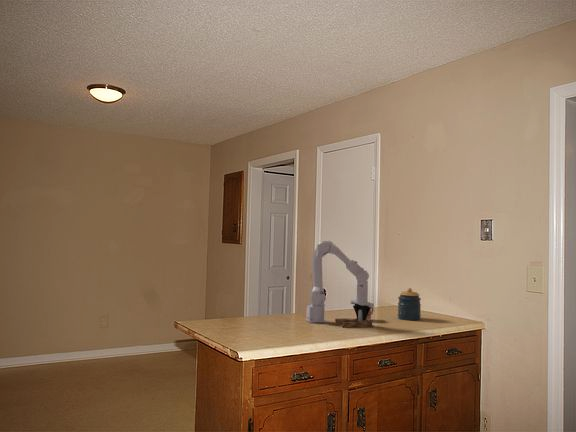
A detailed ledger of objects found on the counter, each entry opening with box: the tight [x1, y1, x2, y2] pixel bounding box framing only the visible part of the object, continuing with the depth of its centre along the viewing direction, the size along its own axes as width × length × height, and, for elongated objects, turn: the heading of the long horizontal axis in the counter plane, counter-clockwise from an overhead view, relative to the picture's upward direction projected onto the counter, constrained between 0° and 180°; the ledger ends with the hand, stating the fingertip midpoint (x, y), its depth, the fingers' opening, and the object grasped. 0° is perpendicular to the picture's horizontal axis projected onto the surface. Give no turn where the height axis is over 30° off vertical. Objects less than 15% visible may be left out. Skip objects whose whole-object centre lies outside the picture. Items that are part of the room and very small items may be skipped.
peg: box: [358, 309, 365, 322], centre depth 256 cm, size 3×3×7 cm
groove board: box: [334, 317, 373, 329], centre depth 256 cm, size 16×12×2 cm
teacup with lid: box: [354, 304, 375, 321], centre depth 274 cm, size 12×9×12 cm
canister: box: [397, 287, 422, 321], centre depth 282 cm, size 13×13×18 cm
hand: (361, 319), depth 256 cm, fingers closed on peg, 3 cm apart
